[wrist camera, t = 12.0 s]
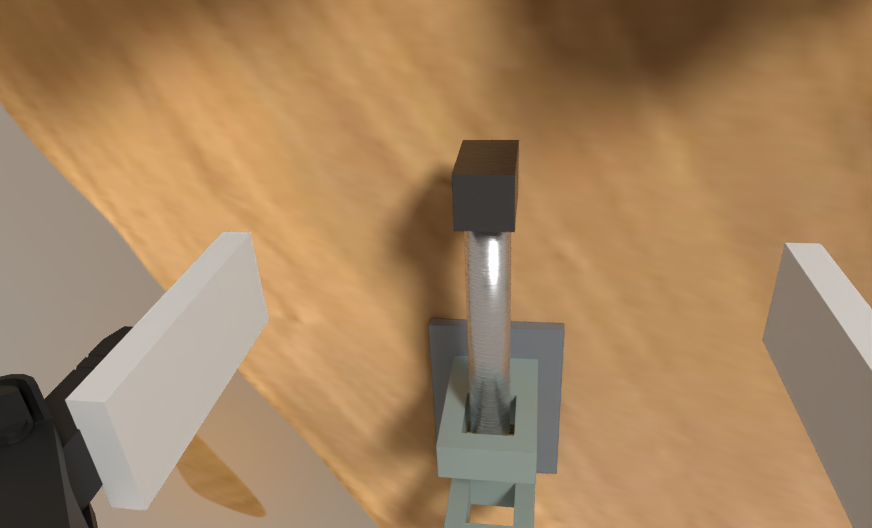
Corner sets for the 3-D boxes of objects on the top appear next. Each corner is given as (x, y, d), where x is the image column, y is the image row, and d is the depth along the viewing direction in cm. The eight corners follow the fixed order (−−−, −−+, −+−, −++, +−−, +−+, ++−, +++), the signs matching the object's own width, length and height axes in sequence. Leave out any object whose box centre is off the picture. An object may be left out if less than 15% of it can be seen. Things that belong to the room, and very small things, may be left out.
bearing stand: (556, 465, 61) (558, 576, 51) (439, 457, 63) (419, 563, 53) (564, 323, 53) (568, 422, 43) (430, 318, 55) (405, 412, 45)
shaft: (515, 399, 53) (512, 454, 48) (471, 396, 53) (463, 450, 48) (518, 140, 42) (515, 175, 37) (463, 140, 43) (451, 174, 38)
